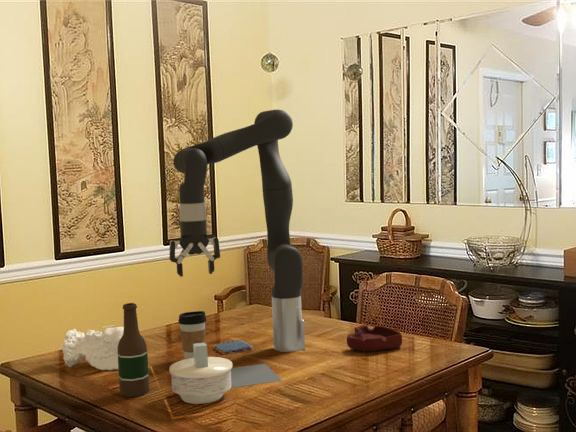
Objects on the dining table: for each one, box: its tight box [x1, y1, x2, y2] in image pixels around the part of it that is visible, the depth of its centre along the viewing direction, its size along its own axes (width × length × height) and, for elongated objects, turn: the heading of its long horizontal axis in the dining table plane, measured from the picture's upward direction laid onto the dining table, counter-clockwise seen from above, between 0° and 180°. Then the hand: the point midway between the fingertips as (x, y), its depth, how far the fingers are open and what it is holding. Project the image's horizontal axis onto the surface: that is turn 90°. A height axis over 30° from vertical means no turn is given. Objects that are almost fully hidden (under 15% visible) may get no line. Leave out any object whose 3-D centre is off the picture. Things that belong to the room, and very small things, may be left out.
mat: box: [230, 363, 283, 389], centre depth 197 cm, size 17×17×1 cm
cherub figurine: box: [61, 326, 124, 371], centre depth 216 cm, size 13×12×20 cm
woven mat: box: [212, 339, 255, 355], centre depth 227 cm, size 10×11×2 cm
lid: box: [168, 342, 234, 379], centre depth 180 cm, size 16×16×6 cm
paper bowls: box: [170, 370, 232, 405], centre depth 181 cm, size 15×15×8 cm
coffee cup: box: [177, 310, 207, 360], centre depth 214 cm, size 8×8×15 cm
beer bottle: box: [118, 302, 150, 398], centre depth 187 cm, size 8×8×24 cm
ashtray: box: [346, 324, 403, 353], centre depth 223 cm, size 18×16×5 cm
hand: (195, 274), depth 203 cm, fingers open, 8 cm apart
